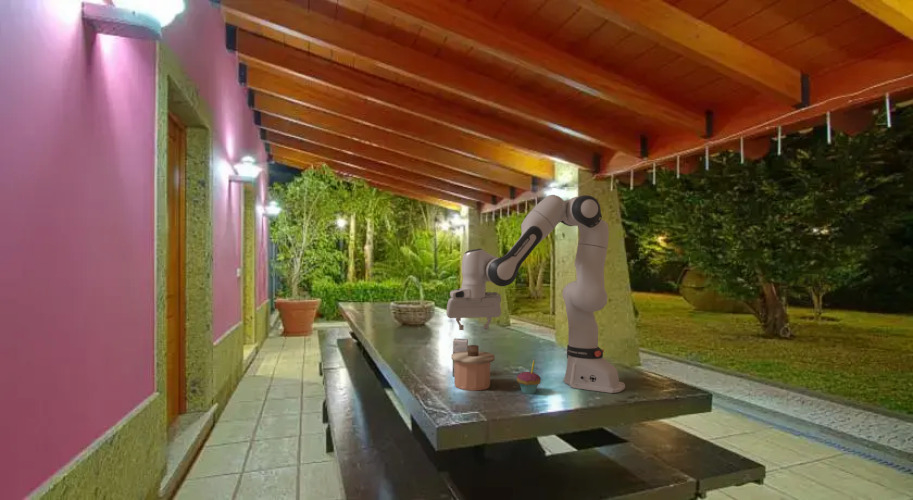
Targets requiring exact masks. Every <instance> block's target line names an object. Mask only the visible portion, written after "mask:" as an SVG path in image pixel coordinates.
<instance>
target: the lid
mask: <svg viewBox="0 0 913 500" xmlns="http://www.w3.org/2000/svg"><path fill="white" fill-rule="evenodd" d="M495 358H496V357H495V354H493V353H491V352H487V351H480V350H479V345H477V344H468V351H461V352H455V353H453V352H452V354H451V360H452V361H453V360H454V361H457V362H461V363H470V364H481V363H489V362H490V363H492V362H494V361H495V360H496V359H495Z"/></svg>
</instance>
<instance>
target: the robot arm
mask: <svg viewBox="0 0 913 500" xmlns="http://www.w3.org/2000/svg"><path fill="white" fill-rule="evenodd" d="M601 211H602V209H601V204H600V203H599V201H598V199H597V198H595V197H593V196H591V195H587V194H585V195H583V194H582V195H577V196H574V197H572V198H570V199H567V200H564V199H563V198H562V197H560V196H559V195H556V194H549V195H547V196H545V198H543V199H542V200H541V201H540V202H538V203H537V204H536V205H535V206H534V207H533V208H532V209H531V210H530V211H529V212H528V213H527V215H525V218H524V219H523V221H522V223H521V224H520V229H521V235H520V236H519V238H518V240H517V241H516V242H515V243H514V245H513V246H511V248H510V250H508V252H507V253H506V254H505V255H503V256H501V257H497V256H495V255H492V254H490V253H488V252H487V251H485V250H484V249H483V248H476V249H469V250H466V251H465V252H464V253H463V256H462V262H461V274H462V282H461V287H460V288H457V289H453V290H451V291H450V292H449V297H450V298H449V299H448V301H447V305H446V317H448V318H449V319H455V320H456V323H457V325H458V330H459V331H464V327H465V326H464V324H461V320H462V319H466V318H468V319H470V318H471V319H473V318H474V319H475V318H486V323H484V324H483V330H489V329H490V328H489V327H490V325H491V322H492V321H493V320H492V319H493V318H500V316H501V315H502V309H501V302H502V296H501V294H500V293H498V292H497V291H493V292H492V291H487V292H486V284H487V282H490V283H493V284H494V285H496V286H498V287H508V286H509V285H511V284H512V283H514V281H515V279H516V278H517V276H518V273H519V269H520V267H521V265H522V264H523V263H524V262H525V261H526V259H527V258H528V257H529V255H531V253H532V252H533V250H534V249H535V248H536V247H537V246H538V245H539V244H540V243H541V242H542V241H543V240H544V239H546V237H548V235H550V234H551V233H552V232H553V231H554V229H555V228H556V227H557V226H558V225H559V224H560V223H562V224H563V225H565V226H568V227H578V232H579V237H578V242H577V248H576V253H575V259H574V267H575V273H576V275H575V276H576V280H573V281H570V282H569V283H567V284H566V285H565V286H564V287H563V289H562V298H563V301H564V304H565V312H566V316H567V323H568V324H567V325H568V335H567V336H568V342H567V343H568V344H567V346H566V359H567V362H566V364H567V365H566V369H565V373H564V374H565V375H564V377H563V382H564V383H565V384H566V385H569V387H570V388H572V389H579V390H585V391H586V390H587V391H594V392H602V393H609V394H613V393H614V394H615V393H620V392H622V391H624V390H625V389H626V384H625V382H623V381H620V378H619V372H618V370H617V369H616V367H614V366H613V365H612V364H611V363H610V362H608V361H607V360H606V359H605V358H604V353H605V349H604V348H600V347H599V324H598V322H597V321H596V317H595V316H596V315H595V312H598V311H600V310H603V308H605V307H606V305H607V302H608V293H607V291H606V287H605V264H606V259H607V253H608V252H607V251H608V245H609V233H610V232H609V230H610V229H609V225H608V223H607V222H606V221H605V220H603V219H602V218H603V217H602V216H603V215H602V212H601Z"/></svg>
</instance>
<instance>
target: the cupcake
mask: <svg viewBox="0 0 913 500" xmlns="http://www.w3.org/2000/svg"><path fill="white" fill-rule="evenodd" d="M535 360H536V359H535V358H534V359H533V361H532V364H531V371H523V372H520V373H519V374H517V376H516V382H517V383H518V384H519V386H520V389H521V392H522V393H524V394H528V395H530V394H531V395H532V394H535V393H536V391H537V388H538V385H539V384H541V379H542V378H541V376H539V374H537V373H536V372H534V369H535V368H534V367H535V362H536V361H535Z"/></svg>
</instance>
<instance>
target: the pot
mask: <svg viewBox="0 0 913 500" xmlns="http://www.w3.org/2000/svg"><path fill="white" fill-rule="evenodd" d="M490 386H491V362H489V363H481V364H470V363H461V362H457V361H455V377H454V387H456V388H457V389H459V390H461V391H470V392H473V391H474V392H475V391H485V390H488V389H489V388H490Z"/></svg>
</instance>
